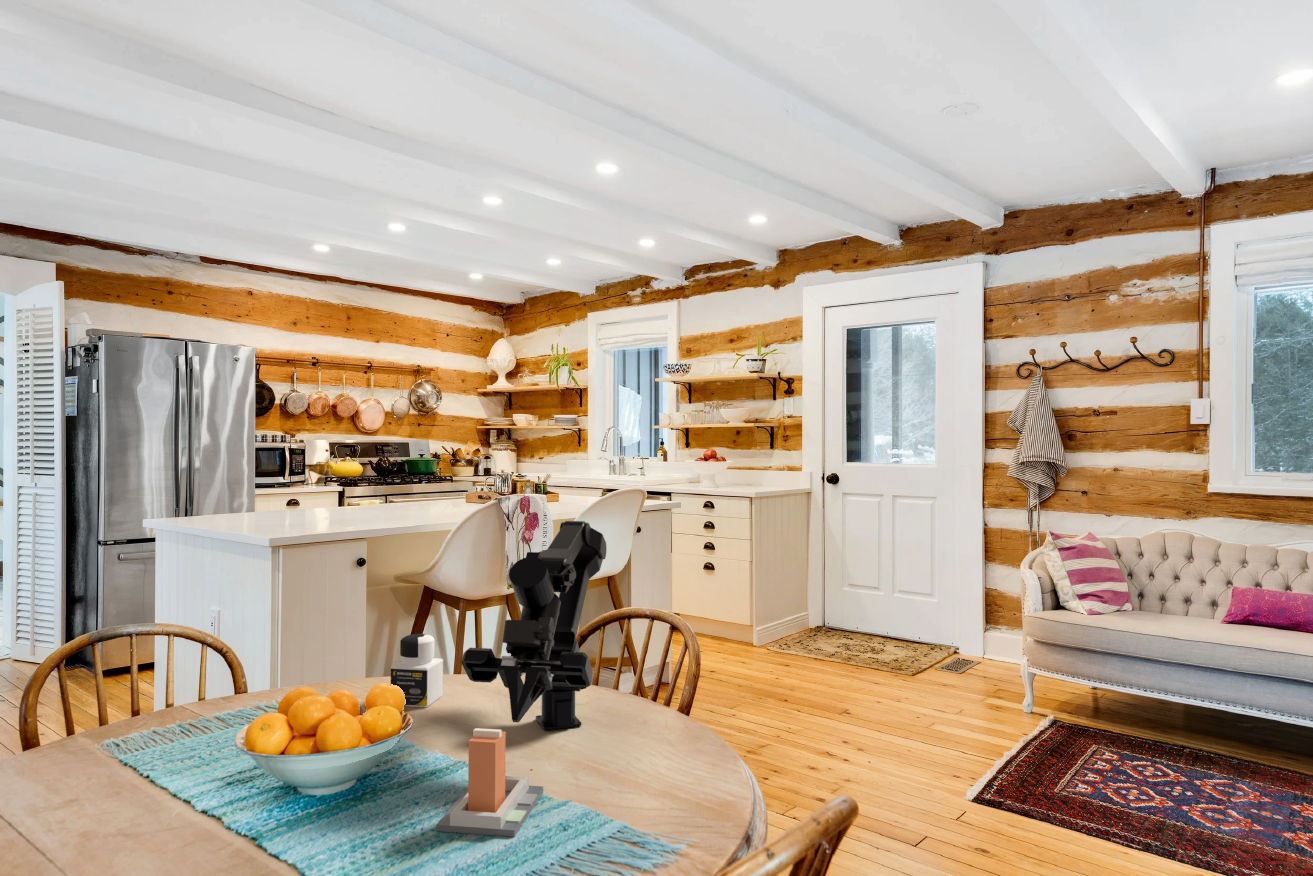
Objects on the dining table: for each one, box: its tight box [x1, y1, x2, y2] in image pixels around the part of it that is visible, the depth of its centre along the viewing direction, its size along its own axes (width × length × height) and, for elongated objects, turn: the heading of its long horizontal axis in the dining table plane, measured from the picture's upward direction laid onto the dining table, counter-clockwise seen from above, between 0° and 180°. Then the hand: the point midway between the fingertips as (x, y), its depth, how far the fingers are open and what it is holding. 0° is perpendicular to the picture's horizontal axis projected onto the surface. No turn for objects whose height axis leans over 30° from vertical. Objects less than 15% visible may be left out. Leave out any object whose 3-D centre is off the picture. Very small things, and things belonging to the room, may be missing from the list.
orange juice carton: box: [467, 727, 507, 813], centre depth 108 cm, size 4×4×10 cm
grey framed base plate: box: [435, 775, 544, 838], centre depth 110 cm, size 13×10×2 cm
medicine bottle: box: [390, 633, 444, 708], centre depth 155 cm, size 7×7×12 cm
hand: (515, 721), depth 119 cm, fingers closed
